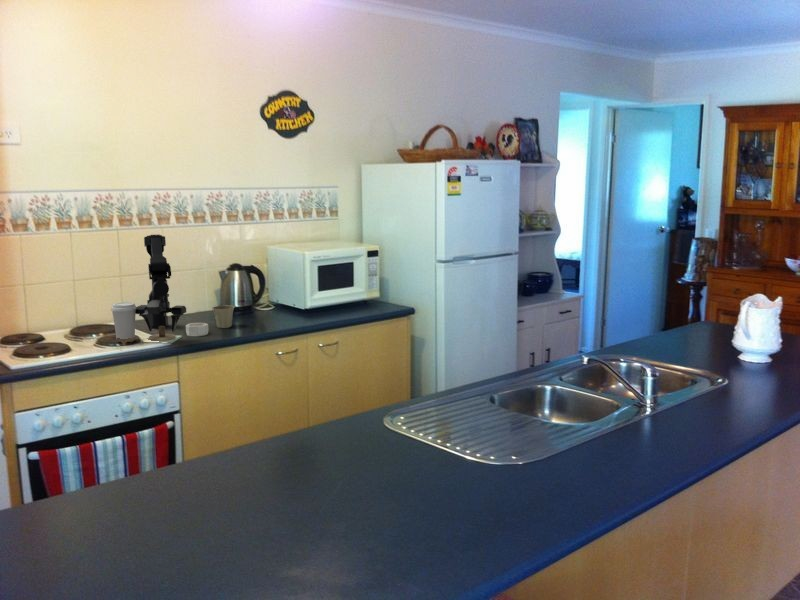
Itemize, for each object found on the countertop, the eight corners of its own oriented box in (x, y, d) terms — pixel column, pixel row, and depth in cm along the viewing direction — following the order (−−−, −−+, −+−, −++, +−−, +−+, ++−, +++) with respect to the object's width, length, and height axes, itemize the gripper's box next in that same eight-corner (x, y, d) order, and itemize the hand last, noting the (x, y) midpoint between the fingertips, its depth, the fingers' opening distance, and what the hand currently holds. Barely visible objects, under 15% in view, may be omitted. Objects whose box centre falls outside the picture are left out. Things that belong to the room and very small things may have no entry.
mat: (141, 342, 287) (141, 340, 287) (153, 336, 298) (153, 335, 297) (171, 343, 286) (171, 341, 286) (182, 337, 297) (182, 335, 296)
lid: (144, 340, 287) (144, 328, 286) (155, 335, 297) (154, 323, 296) (169, 341, 286) (168, 329, 285) (179, 336, 296) (178, 324, 295)
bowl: (183, 336, 298) (183, 326, 298) (191, 331, 307) (190, 322, 306) (203, 336, 298) (203, 327, 297) (210, 332, 306) (210, 322, 305)
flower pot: (222, 330, 311) (221, 310, 309) (208, 327, 316) (207, 307, 315) (239, 326, 318) (239, 307, 317) (225, 323, 324) (224, 304, 322)
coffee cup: (107, 342, 286) (105, 304, 284) (126, 338, 295) (124, 301, 292) (124, 345, 282) (122, 306, 280) (144, 340, 290) (141, 303, 288)
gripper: (127, 295, 281) (130, 334, 284) (174, 296, 280) (176, 336, 282) (140, 290, 292) (142, 329, 295) (186, 291, 291) (187, 330, 293)
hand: (162, 331), depth 291 cm, fingers open, 9 cm apart
